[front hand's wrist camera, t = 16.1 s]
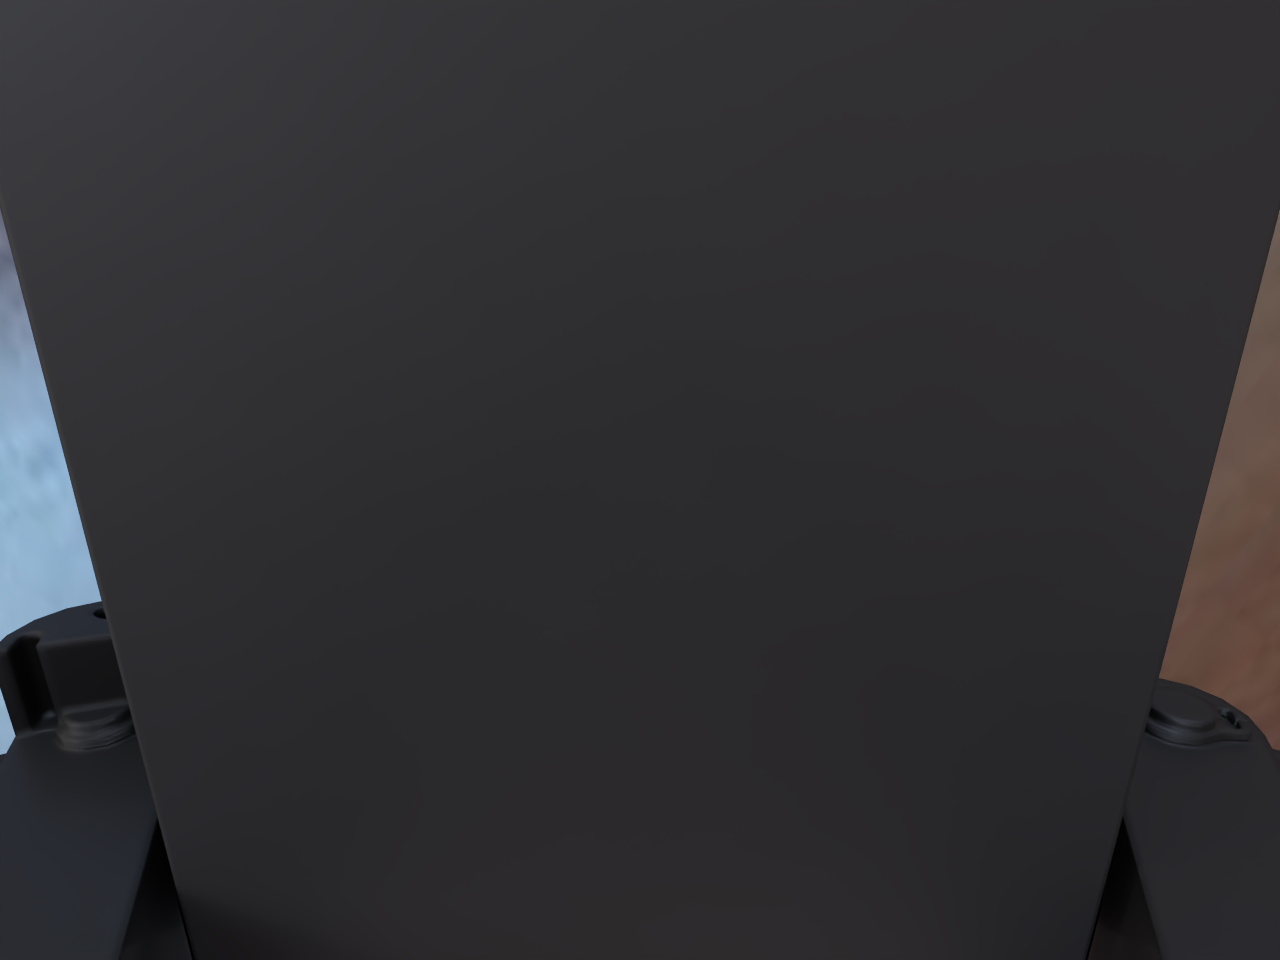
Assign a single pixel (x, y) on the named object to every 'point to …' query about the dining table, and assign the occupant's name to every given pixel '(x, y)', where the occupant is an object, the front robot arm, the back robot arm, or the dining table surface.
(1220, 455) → the dining table surface
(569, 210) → the box
